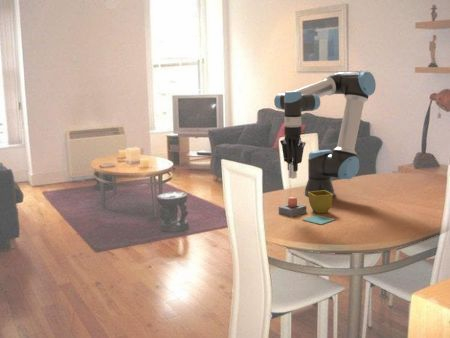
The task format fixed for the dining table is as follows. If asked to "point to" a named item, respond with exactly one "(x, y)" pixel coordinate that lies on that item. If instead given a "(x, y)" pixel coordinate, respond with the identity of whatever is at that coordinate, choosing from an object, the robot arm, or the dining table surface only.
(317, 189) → the robot arm
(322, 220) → the pad
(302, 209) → the housing
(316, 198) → the flower pot
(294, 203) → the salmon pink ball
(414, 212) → the dining table surface
